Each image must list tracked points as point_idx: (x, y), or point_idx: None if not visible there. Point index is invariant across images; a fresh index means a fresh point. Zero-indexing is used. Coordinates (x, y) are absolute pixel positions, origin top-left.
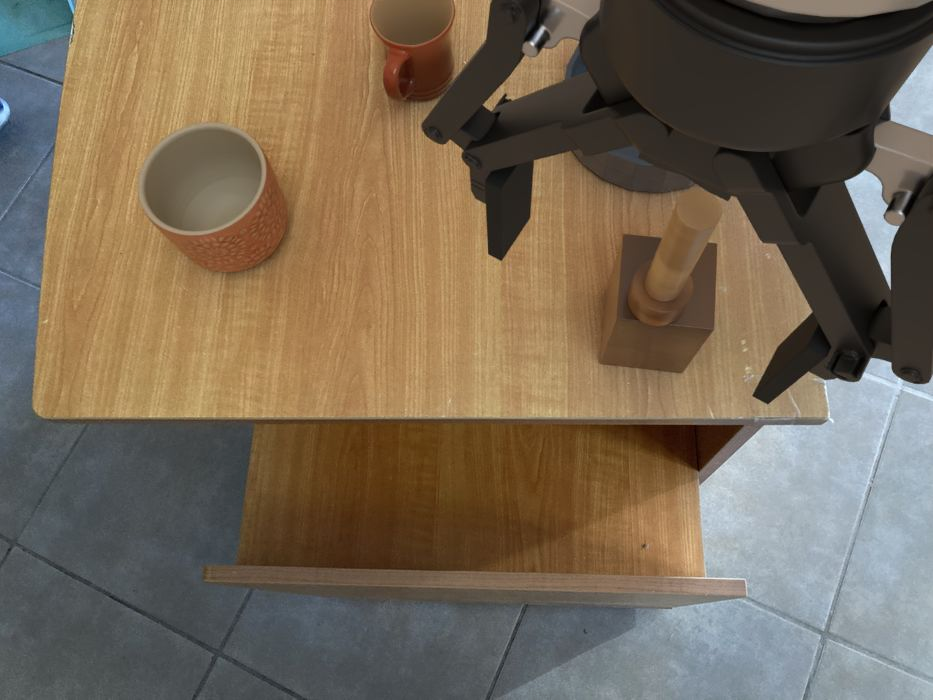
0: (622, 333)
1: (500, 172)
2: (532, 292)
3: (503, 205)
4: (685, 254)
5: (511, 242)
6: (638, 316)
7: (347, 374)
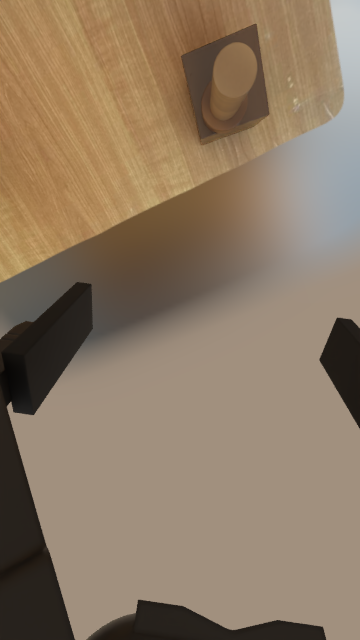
0: (208, 138)
1: (20, 401)
2: (142, 111)
3: (52, 383)
4: (234, 106)
5: (89, 317)
6: (214, 131)
7: (74, 219)
